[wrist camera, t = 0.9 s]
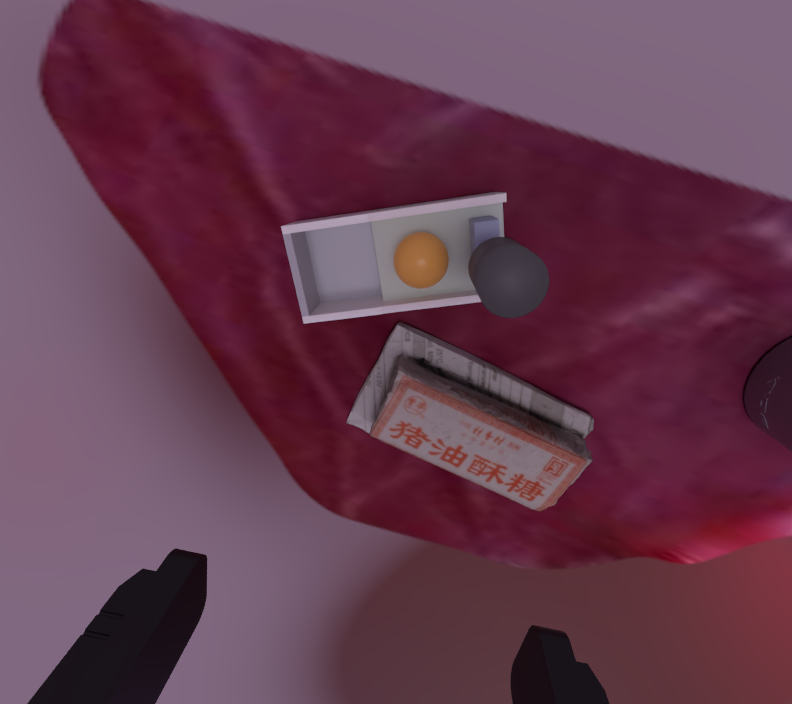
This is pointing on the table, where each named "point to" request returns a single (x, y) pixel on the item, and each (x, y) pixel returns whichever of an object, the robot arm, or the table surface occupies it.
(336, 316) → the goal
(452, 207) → the tray
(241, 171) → the table surface
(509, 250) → the striker
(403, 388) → the packaged product
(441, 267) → the ball
